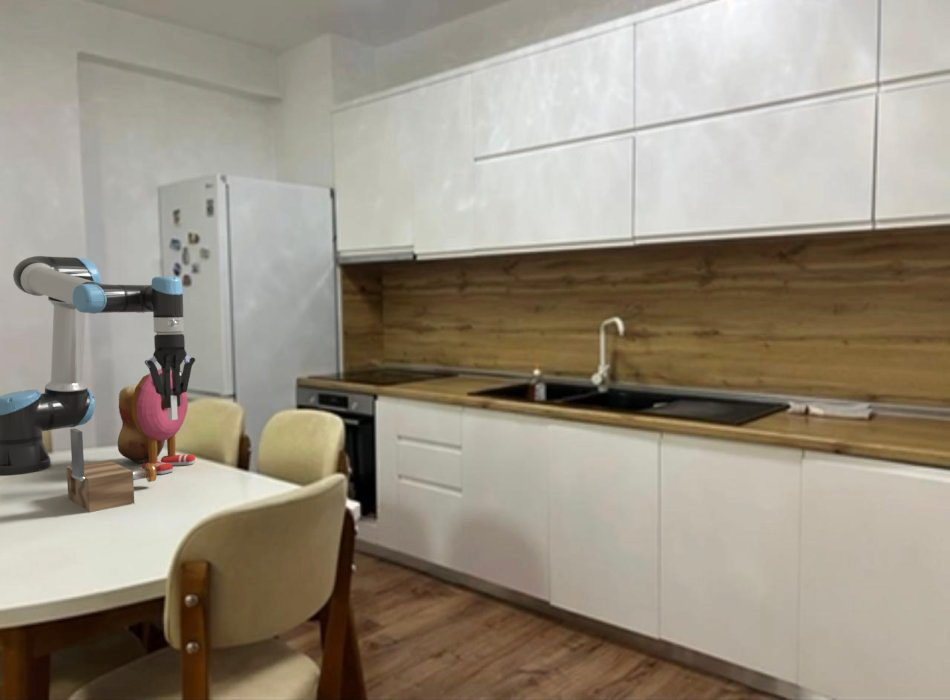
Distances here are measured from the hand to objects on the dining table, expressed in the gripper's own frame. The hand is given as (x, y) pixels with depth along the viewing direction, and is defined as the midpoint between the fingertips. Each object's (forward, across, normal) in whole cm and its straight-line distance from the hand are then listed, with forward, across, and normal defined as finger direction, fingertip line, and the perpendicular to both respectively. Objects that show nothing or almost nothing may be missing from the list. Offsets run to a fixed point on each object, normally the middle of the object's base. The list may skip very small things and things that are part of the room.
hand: (172, 419), depth 187 cm
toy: (+18, +5, +19) cm, 27 cm away
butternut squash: (+18, +3, +33) cm, 38 cm away
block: (+18, -20, -4) cm, 27 cm away
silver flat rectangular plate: (+10, -26, -9) cm, 29 cm away
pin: (+16, -13, 0) cm, 21 cm away
